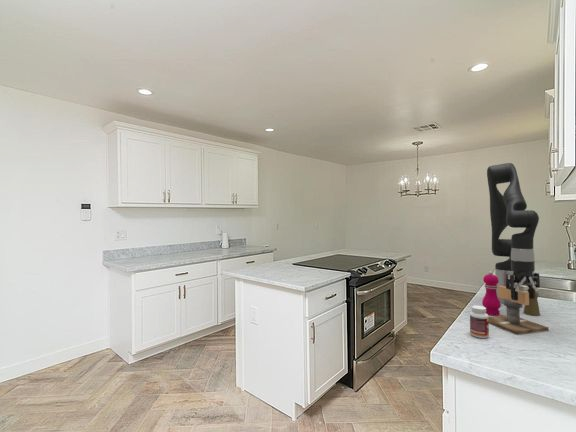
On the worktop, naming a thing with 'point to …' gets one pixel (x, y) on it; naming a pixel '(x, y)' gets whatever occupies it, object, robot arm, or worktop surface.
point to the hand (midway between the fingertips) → (523, 299)
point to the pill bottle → (479, 322)
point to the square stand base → (515, 323)
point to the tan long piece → (506, 295)
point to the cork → (532, 306)
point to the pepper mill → (491, 295)
